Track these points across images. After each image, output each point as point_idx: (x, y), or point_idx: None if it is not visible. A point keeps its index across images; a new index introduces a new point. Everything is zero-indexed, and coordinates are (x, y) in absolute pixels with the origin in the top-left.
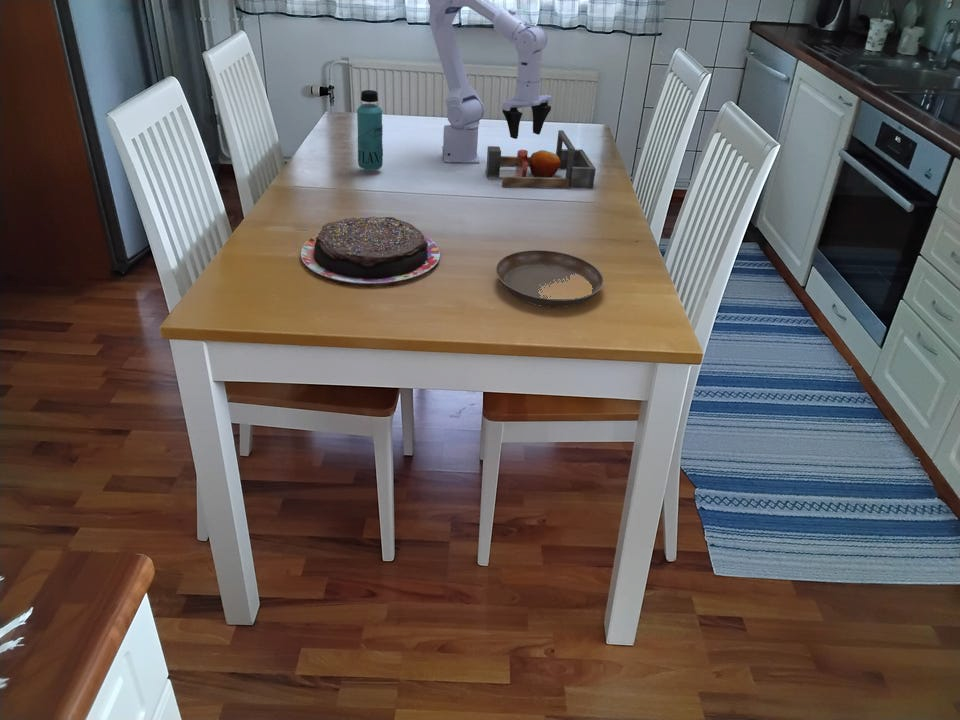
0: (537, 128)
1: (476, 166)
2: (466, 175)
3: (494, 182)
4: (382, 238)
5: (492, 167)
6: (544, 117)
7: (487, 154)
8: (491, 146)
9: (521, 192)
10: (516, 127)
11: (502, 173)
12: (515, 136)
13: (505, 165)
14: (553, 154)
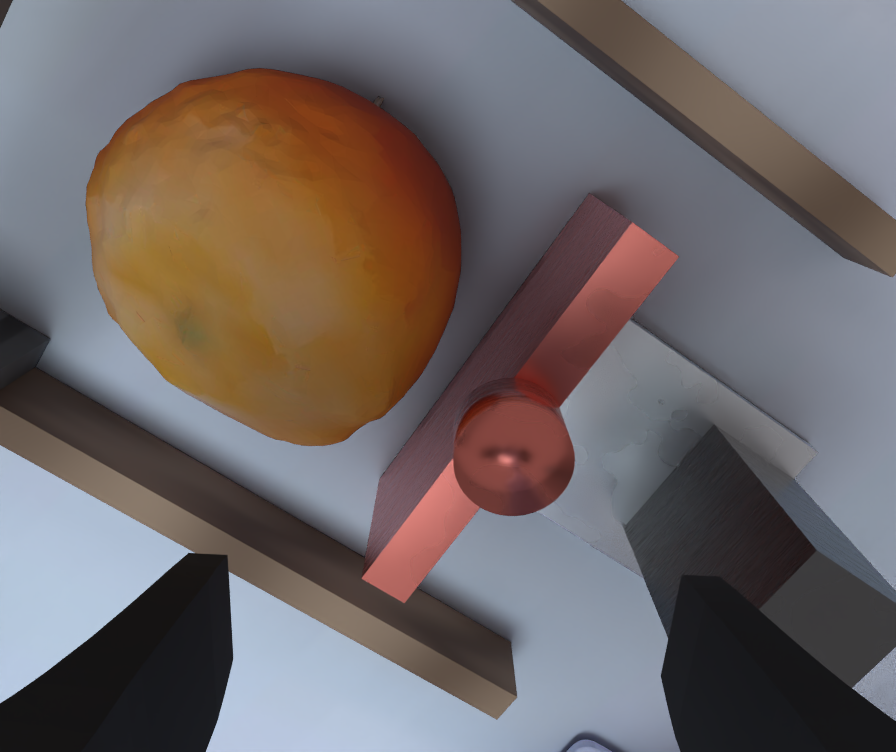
0: (197, 645)
1: (646, 698)
2: None
3: (824, 359)
4: None
5: (797, 497)
6: (2, 743)
7: None
8: None
9: (837, 6)
10: (842, 696)
11: (640, 455)
12: (740, 598)
13: (436, 602)
14: (204, 174)
